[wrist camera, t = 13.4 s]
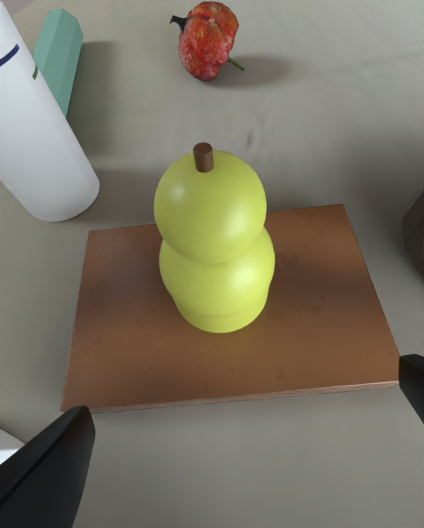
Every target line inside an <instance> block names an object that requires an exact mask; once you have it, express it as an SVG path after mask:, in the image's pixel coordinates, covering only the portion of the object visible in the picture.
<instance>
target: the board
mask: <svg viewBox="0 0 424 528" xmlns="http://www.w3.org/2000/svg"><path fill="white" fill-rule="evenodd" d="M263 226H264V227H265V229H266V231H267V232H268V234H269V236H270V238H271V241H272V244H273V249H274V254H275V266H274V273H273V276H272V280H271V282H270V285H269V290H268V295H267V299H266V303H265V305H264V307H263V309H262V311H261V312H260V314H259V315H258V316H257V317H256V318H255V319H254V320H253V321H252V322H251V323H249V324H248V325H247V326H245V327H243V328H241V329H238V330H235V331H232V332H227V333H213V332H207V331H204V330H201V329H199V328H197V327H195V326H193V325H192V324H190V323H189V322H188V321H187V320H186V319H185V318H184V317H183V316H182V315H181V313H180V312H179V310H178V308H177V306H176V304H175V302H174V299H173V297H172V296H171V295H170V293H169V292H168V290H167V289H166V287H165V284H164V282H163V279H162V276H161V273H160V266H159V255H160V249H161V244H162V241H163V237H162V235H161V233H160V231H159V229H158V227H157V224H149V225H139V226H130V227H120V228H111V229H102V230H92V231H89V234H88V240H87V246H86V252H85V258H84V264H83V271H82V277H81V283H80V289H79V295H78V301H77V307H76V314H75V320H74V326H73V332H72V338H71V344H70V350H69V357H68V363H67V369H66V375H65V381H64V387H63V394H62V400H61V406H60V411H61V412H66V411H68V410H69V409H70V408H72V407H75V406H81V405H86V406H88V408H89V410H90V413H102V412H114V411H125V410H137V409H149V408H160V407H172V406H183V405H195V404H206V403H218V402H229V401H241V400H253V399H264V398H276V397H287V396H299V395H310V394H322V393H333V392H345V391H357V390H368V389H380V388H390V387H393V386H396V385H399V381H398V371H399V358H400V355H399V353H398V350H397V347H396V345H395V342H394V339H393V337H392V334H391V331H390V329H389V326H388V323H387V321H386V318H385V315H384V313H383V310H382V307H381V305H380V302H379V299H378V297H377V294H376V291H375V289H374V286H373V283H372V281H371V278H370V275H369V273H368V270H367V267H366V265H365V262H364V259H363V257H362V254H361V251H360V249H359V246H358V243H357V241H356V238H355V235H354V232H353V230H352V227H351V224H350V222H349V219H348V216H347V214H346V211H345V208H344V206H343V204H337V205H328V206H318V207H309V208H299V209H290V210H280V211H271V212H266V218H265V222H264V225H263Z"/></svg>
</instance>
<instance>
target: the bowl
mask: <svg viewBox="0 0 424 528" xmlns="http://www.w3.org/2000/svg"><path fill="white" fill-rule="evenodd" d="M403 236H404V244H405V246H406V248H407V251H408V253H409V255H410V257H411V259H412V261H413V263H414V266H415V267H416V269H417V270H418V271H419V272H420V273H421V275H422V276H423V277H424V182H423V183H422V185H421V186H420V188H419V189H418V190H417V192H416V193H415V195H414V196H413V198H412V199H411V200H410V202H409V205H408V207H407V210H406V212H405V214H404V217H403Z"/></svg>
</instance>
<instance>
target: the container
mask: <svg viewBox="0 0 424 528" xmlns="http://www.w3.org/2000/svg"><path fill="white" fill-rule="evenodd" d="M82 40H83V33H82V30H81V28H80V25H79V23H78V20H77V19H76V18H75V17H73V16H72V15H71V14H69V13H68V12H66V11H65V10H64V9H58V10H51V11H48V13H47V16H46V19H45V21H44V24H43V27H42V30H41V32H40V35H39V38H38V40H37V43H36V46H35V48H34V51H33V54H32V58H33V59H34V61H35V63H36V65H37V67H38V69H39V70H40V72H41V74H42V76H43V78H44V80H45V82H46V83H47V85H48V87H49V89H50V91H51V93H52V94H53V96H54V98H55V100H56V102H57V104H58V105H59V107H60V109H61V111H62V113H63V115H64V117H65V118H66V115H67V111H68V106H69V101H70V96H71V92H72V87H73V82H74V78H75V73H76V68H77V63H78V59H79V54H80V49H81V44H82Z"/></svg>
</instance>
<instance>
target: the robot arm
mask: <svg viewBox="0 0 424 528" xmlns="http://www.w3.org/2000/svg"><path fill="white" fill-rule="evenodd" d="M398 381H399V385H400V388H401V390H402V392H403V393H404V395H405V396H406V398H407V399H408V401H409V402H410V404H411V405H412V407H413V408H414V410H415V411H416V413H417V414H418V416H419V417H420V419H421V420H422V422H423V423H424V357H423V356H420V355H417V354H410V355H404V356H401V357H400V358H399V371H398ZM94 440H95V426H94V423H93V420H92V417H91V413H90V410H89V408H88V406H86V405H81V406H75V407H72V408H70V409H69V410H68V411H66V412H65V413H64V414H63V415H61V416H60V417H59V418H58V419H56V420H55V421H54V422H53V423H51V424H50V425H49V426H48V427H46V428H45V429H44V430H43V431H41V432H40V433H39V434H38V435H36V436H35V437H34V438H33V439H31V440H30V441H29V442H28V443H26V444H25V445H24V446H23V447H21V448H20V449H19V450H18V451H16V452H15V453H14V454H13V455H11V456H10V457H9V458H8V459H6V460H5V461H4V462H3V463H1V464H0V528H72V526H73V523H74V519H75V516H76V513H77V510H78V507H79V504H80V500H81V497H82V493H83V489H84V485H85V481H86V476H87V472H88V467H89V463H90V458H91V453H92V449H93V444H94Z"/></svg>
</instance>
